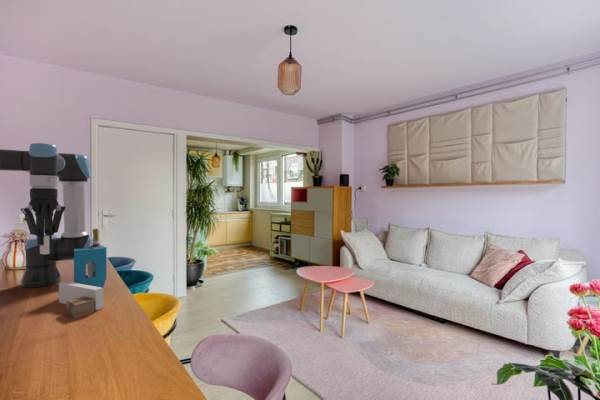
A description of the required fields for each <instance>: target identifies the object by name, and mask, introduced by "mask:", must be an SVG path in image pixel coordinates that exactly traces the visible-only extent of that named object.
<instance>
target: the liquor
mask: <svg viewBox="0 0 600 400" xmlns="http://www.w3.org/2000/svg"><path fill="white" fill-rule="evenodd" d="M92 237H93V238H92V239H93V241H92V246H90V247H88V248H94V247H105V246H103V244H102V245H101V243H100V241H101V240H100V228H92ZM87 273H88V274H87V275H88V277H93V275H94V274H95V263H93V262H92V261H90V262H89V263H88V264H87Z"/></svg>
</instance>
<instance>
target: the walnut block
mask: <svg viewBox="0 0 600 400" xmlns="http://www.w3.org/2000/svg"><path fill="white" fill-rule="evenodd" d="M65 305H66V307H65V309H66V312H65V314H66V315H69V316H70V317H72V318H74V319H78V318H79V319H80V318H82V317H86V316H89V315H93V314H95V311H94V300H92V299H90V298H88V297H85V296H84V297H79V298H75V299H71V300H67V301H66V304H65Z"/></svg>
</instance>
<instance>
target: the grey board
mask: <svg viewBox="0 0 600 400" xmlns="http://www.w3.org/2000/svg"><path fill="white" fill-rule="evenodd" d="M84 296H85V297H88V298H90V299H92V300H94V312H96V311H99V310H101V309H104V287H103V288H101V287H96V286H90V285H85V284H79V283H74V281H73V282H72V281H68V280H67V281H62V282H58V303H59V304H63V305H66V301H67V300H71V299H75V298H79V297H84Z"/></svg>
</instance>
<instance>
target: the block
mask: <svg viewBox="0 0 600 400" xmlns="http://www.w3.org/2000/svg"><path fill="white" fill-rule="evenodd" d="M107 256H108V255H107V246H104V247H94V248H82V249H74V260H73V283H79V284H85V285H90V286H96V287H101V288H103V289H104V287H105V284H106V280H107V268H108V267H107V265H108V264H107V263H108V262H107ZM90 261H92V262H93V263H95V274H94V275H93V277H88V274H87V266H88V263H89V262H90Z"/></svg>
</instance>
